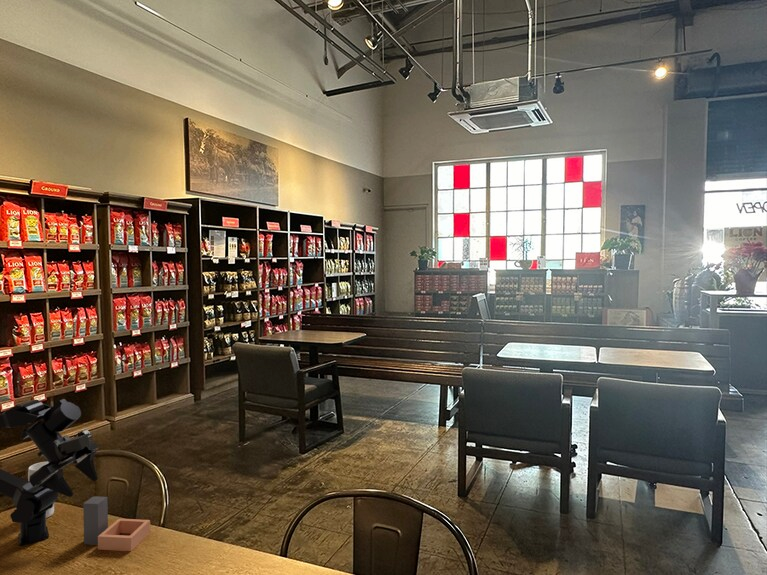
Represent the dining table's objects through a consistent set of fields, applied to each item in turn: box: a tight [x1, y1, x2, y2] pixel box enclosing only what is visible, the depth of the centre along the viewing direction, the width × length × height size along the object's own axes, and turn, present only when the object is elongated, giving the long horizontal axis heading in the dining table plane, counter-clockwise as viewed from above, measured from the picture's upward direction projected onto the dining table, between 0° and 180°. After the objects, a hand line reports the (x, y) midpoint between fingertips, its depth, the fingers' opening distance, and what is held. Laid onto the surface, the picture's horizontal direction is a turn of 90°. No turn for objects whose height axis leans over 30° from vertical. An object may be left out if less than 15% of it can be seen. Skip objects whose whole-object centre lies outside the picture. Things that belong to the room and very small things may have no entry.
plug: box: [82, 495, 109, 546], centre depth 131 cm, size 4×4×11 cm
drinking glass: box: [27, 460, 55, 519], centre depth 143 cm, size 7×7×15 cm
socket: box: [97, 518, 151, 552], centre depth 131 cm, size 9×9×4 cm
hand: (84, 488), depth 130 cm, fingers open, 9 cm apart
